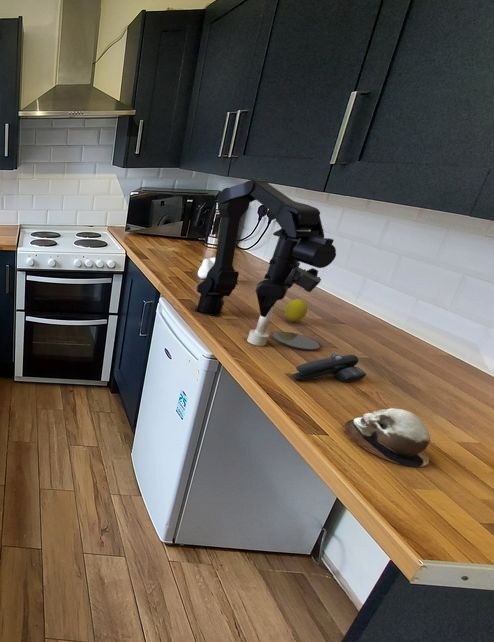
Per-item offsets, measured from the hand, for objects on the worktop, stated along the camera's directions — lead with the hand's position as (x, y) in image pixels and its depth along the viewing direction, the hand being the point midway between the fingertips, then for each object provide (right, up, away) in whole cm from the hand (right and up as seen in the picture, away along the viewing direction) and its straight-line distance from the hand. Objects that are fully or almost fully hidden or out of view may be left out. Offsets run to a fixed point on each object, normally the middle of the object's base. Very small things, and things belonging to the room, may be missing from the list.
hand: (266, 311), depth 110 cm
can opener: (+5, -16, -13) cm, 21 cm away
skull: (-2, -26, -34) cm, 43 cm away
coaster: (+12, -8, +5) cm, 15 cm away
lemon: (+21, -3, +18) cm, 28 cm away
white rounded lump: (+18, +19, +56) cm, 62 cm away
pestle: (0, -9, +4) cm, 9 cm away
